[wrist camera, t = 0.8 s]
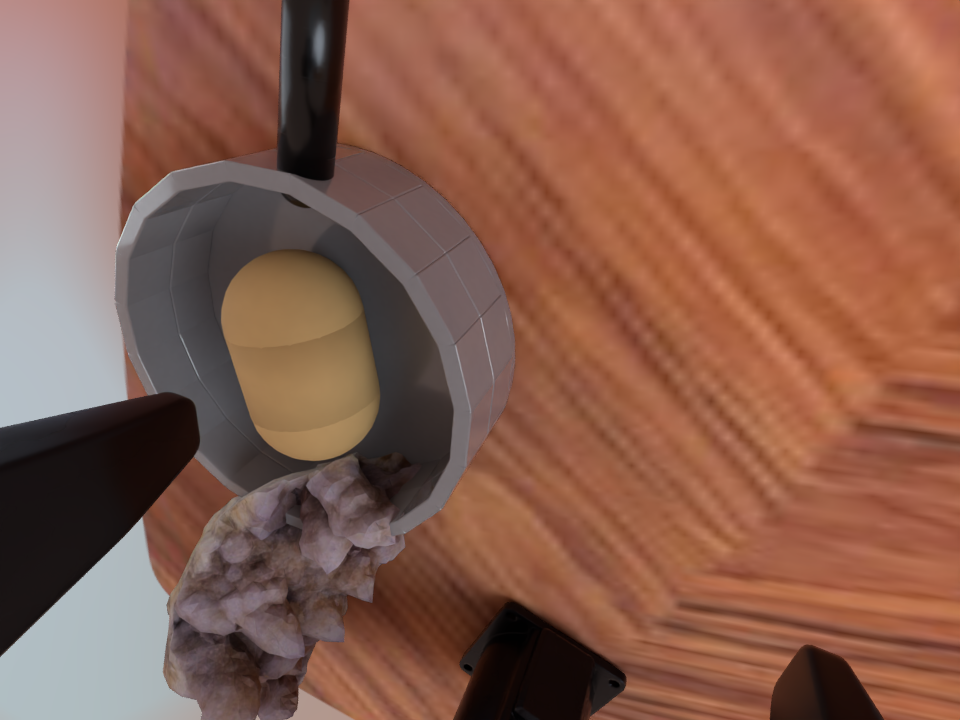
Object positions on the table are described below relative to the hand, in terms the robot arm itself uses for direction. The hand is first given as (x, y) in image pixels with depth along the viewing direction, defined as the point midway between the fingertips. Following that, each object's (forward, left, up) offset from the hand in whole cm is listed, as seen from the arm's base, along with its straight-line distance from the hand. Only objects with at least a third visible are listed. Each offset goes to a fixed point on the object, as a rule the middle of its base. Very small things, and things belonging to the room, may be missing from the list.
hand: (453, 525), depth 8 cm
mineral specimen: (-21, +6, -13) cm, 25 cm away
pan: (-8, +8, -13) cm, 17 cm away
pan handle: (+2, +9, -10) cm, 14 cm away
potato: (-8, +8, -12) cm, 16 cm away
